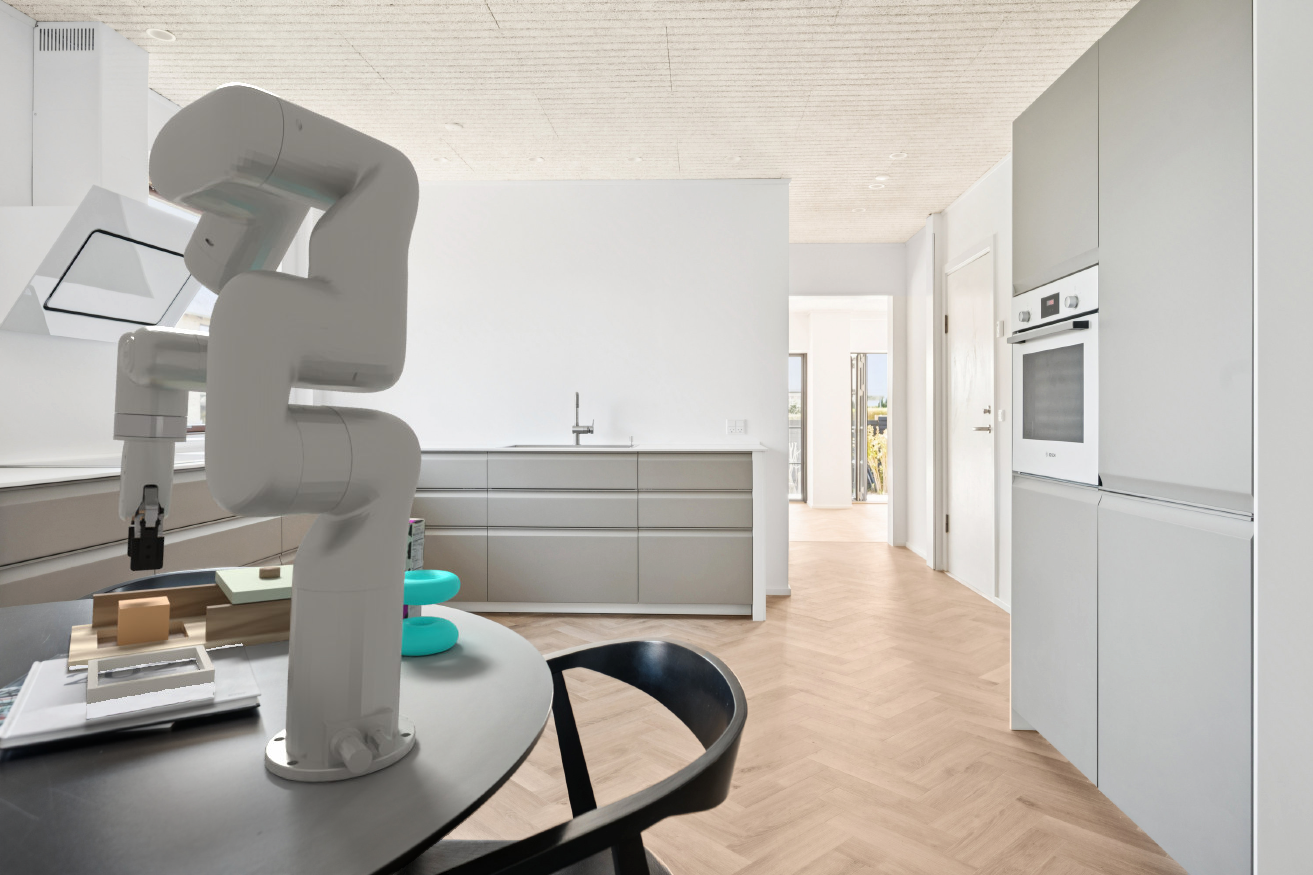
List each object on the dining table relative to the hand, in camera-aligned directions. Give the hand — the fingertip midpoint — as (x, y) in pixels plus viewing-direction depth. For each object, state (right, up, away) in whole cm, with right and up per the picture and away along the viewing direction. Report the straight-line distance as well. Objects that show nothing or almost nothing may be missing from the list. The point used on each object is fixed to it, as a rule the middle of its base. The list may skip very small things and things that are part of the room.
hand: (144, 562), depth 87 cm
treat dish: (+10, -12, -13) cm, 20 cm away
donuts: (+33, -13, +7) cm, 36 cm away
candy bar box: (+23, -13, +17) cm, 32 cm away
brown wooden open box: (+5, -12, +4) cm, 13 cm away
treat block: (0, -10, 0) cm, 10 cm away
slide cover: (+11, -5, +9) cm, 15 cm away
